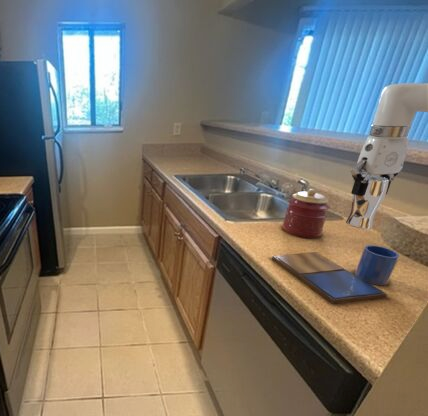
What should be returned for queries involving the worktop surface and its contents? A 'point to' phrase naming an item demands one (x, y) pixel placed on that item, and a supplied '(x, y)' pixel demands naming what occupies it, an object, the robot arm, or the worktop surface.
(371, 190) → the beer glass
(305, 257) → the sorting board
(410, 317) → the worktop surface
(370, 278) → the blue tumbler
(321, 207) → the kitchen canister
